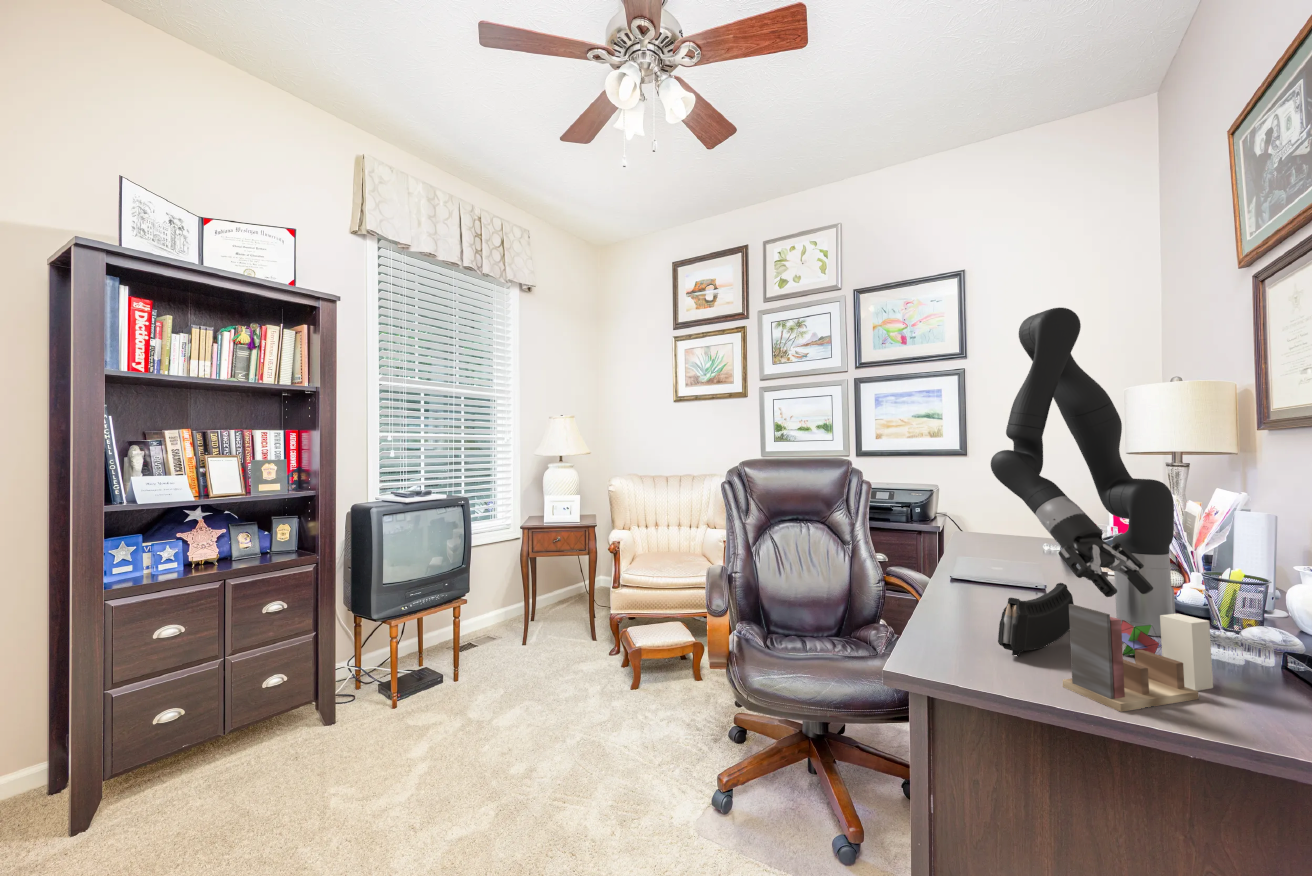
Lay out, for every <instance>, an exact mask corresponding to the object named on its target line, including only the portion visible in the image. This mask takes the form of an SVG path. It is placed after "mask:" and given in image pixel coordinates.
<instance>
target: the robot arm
mask: <svg viewBox="0 0 1312 876" xmlns="http://www.w3.org/2000/svg"><path fill="white" fill-rule="evenodd" d="M1081 325H1082V324H1081V320H1080V318H1079V316H1078V314H1077V313H1076V312H1075V311H1073V310H1072V309H1069V308H1066V307H1054V308H1049V309H1047V310H1043V311H1042V312H1038V313H1035V314H1032V315H1030V316H1028V317H1027V318H1026V319H1024V320H1023V321H1022V322H1021V323H1020V326H1019V328H1018V339H1019V342H1020V344H1021V347H1022V348H1023V350H1024V351H1025V352H1026V354H1027V355H1028V357H1029V358H1030V360H1031V361H1032V363H1031V367H1030V369H1029V371H1028V374H1027V375H1026V376H1025V377H1026V378H1025V379H1024V382H1023V383H1022V385H1021V387H1020V388H1019V390H1018V392H1017V394H1016V396H1015V398H1014V401H1013V403H1012V405H1011V408H1010V409H1011V410H1010V413H1009V416H1008V421H1007V425H1006V431H1005V434H1006V437H1007V438H1009V440H1011V441H1012V442H1013V449H1012V450H1011V449H1004V450H1000V451H997V452H996V453H995V454H993V456H992V457H991V460H990V470H991V472H992V474H993V476H994V477H995V478H996V479H997V480H998V482H1000V483H1001V484H1002V485H1003V486H1004V487H1006V488H1007V489H1008V490H1009V491H1011V492H1012V493H1013V494H1014V495H1016V496H1017V497H1018V498H1020V499H1021V500H1022V501H1023V502H1024V503H1025V505H1026V506H1027V507H1028V509H1030V511H1031V512H1032V513H1033V515H1035V517H1037V519H1038V521H1039V522H1040V524H1041V525H1042V526H1043V528H1044V529H1045V530H1046V531H1047V532H1048V533H1049V534H1050V536H1051V537H1052V538H1053V539H1054V540H1055V542H1056V543H1057V544H1058V545H1059V546H1060V547H1061V550H1059V552H1058V555H1059V556H1060V558H1061V559H1062V560H1063V562H1064V563H1065V564H1066V565H1067V567H1068V568H1069V569H1070V570H1071V571H1072V572H1073V574H1074V575H1075V577H1076V578H1078V579H1082V578H1085V579H1086V580H1088V581H1091V582H1092V583H1093V585H1094V586H1095V587H1096V588H1097V589H1098V591H1100V592H1101V594H1102V595H1103V596H1105V598H1112V597H1114V595H1115V610H1116V611H1115V615H1116V617H1115V618H1117V619H1121V622H1122V621H1123V620H1124V621H1126V620H1127V622H1129V623H1131V624H1132V625H1133V626H1144V625H1149V624H1150V625H1151V624H1152V626H1153V627H1152V626H1151V628H1150V630H1149V633H1148V636H1153V637H1156V636H1157V637H1161V626H1160V615H1168V614H1176V606H1175V605H1176V602H1175V601H1176V600H1175V589H1174V587H1173V586H1172V578H1171V577H1172V574H1171V571H1172V570H1171V561H1170V559H1171V557H1170V555H1171V554H1170V546H1171V544H1172V543H1173V540H1174V534H1175V532H1174V531H1175V530H1174V529H1175V503H1174V497H1173V493H1172V491H1171V490H1170V488H1169V487H1168V485H1166V484H1165V483H1163V482H1161V481H1160V480H1156V479H1151V478H1150V479H1149V478H1133V477H1132V476H1131V474H1130V473H1129V471H1128V469H1127V468H1126V465H1125V464H1124V462H1123V460H1122V457H1121V452H1120V446H1121V438H1122V433H1123V431H1122V430H1123V423H1122V419H1121V417H1120V414H1119V412H1118V410H1117V408H1116V407H1115V405H1114V402H1113V400H1112V399H1111V397H1110V396H1109V394H1108V393H1107V391H1106V390H1105V389H1104V388H1103V387H1102V385H1100V384H1099V383H1098V382H1097V381H1096V380H1095V379H1094V378H1093V377H1091V376H1090V375H1089V374H1088V373H1087V372H1086V371H1084V370H1083V368H1081V366H1079V364H1078V363H1077V361H1076V360H1075V358H1074V357H1073V355H1072V351H1073V348H1074V347H1075V345H1076V342H1077V340H1078V338H1079V335H1080V333H1081V332H1080V331H1081V327H1082V326H1081ZM1053 400H1054V402H1055V404H1056V406H1057V408H1058V410H1059V412H1060V415H1061V416H1062V419H1063V420H1064V422H1065V425H1066V426H1067V428H1068V430H1069V432H1070V433H1071V436H1072V437H1073V439H1074V440H1075V442H1076V444H1077V446H1078V448H1079V451H1080V453H1081V456H1082V457H1083V459H1084V461H1085V463H1086V466H1087V468H1088V470H1089V472H1090V476H1091V478H1092V480H1093V483H1094V487H1095V489H1096V492H1097V494H1098V497H1099V499H1100V501H1101V503H1102V506H1103V507H1104V509H1106V510H1107V512H1109V513H1110V514H1111V515H1113V516H1114V517H1118V518H1122V519H1126V520H1128V528H1127V529H1126V531H1125V532H1124V533H1121V534H1118V535H1115V536H1114V537H1113V538H1112V544H1111V545H1110V544H1109V543H1107V542H1106V541H1104V540H1103V534H1104V532H1103V530H1102V529H1101V528H1100V527H1099V526H1098V525H1097V524H1096V522H1094V520H1093V519H1091V518H1090V516H1089V515H1088V514H1087V513H1086V512H1085V511H1084V510H1083V509H1082V508H1081V507H1080V506H1079V505H1078V504H1077V503H1075V501H1073V500H1072V499H1070V497H1068V496H1067V494H1066V493H1065V492H1064V491H1063V490H1062V489H1061V488H1060V487H1059V486H1058V485H1057V484H1056V483H1055V482H1054V481H1052V480H1050V479H1048V478H1046V477H1043V476H1041V472H1042V470H1043V468H1044V467H1043V466H1044V442H1043V436H1044V432H1045V428H1046V425H1047V420H1048V416H1049V412H1050V408H1051V405H1052V401H1053ZM1077 565H1078V566H1077ZM1078 567H1080V568H1078ZM1101 568H1103V569H1108V570H1110V571H1112V572H1114V573H1113V575H1114V584H1112V581H1110V580H1109V579H1108V578H1107V576H1105V574H1104V573H1101ZM1137 622H1138V623H1137ZM1143 623H1144V624H1143ZM1154 631H1155V632H1154Z"/></svg>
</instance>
